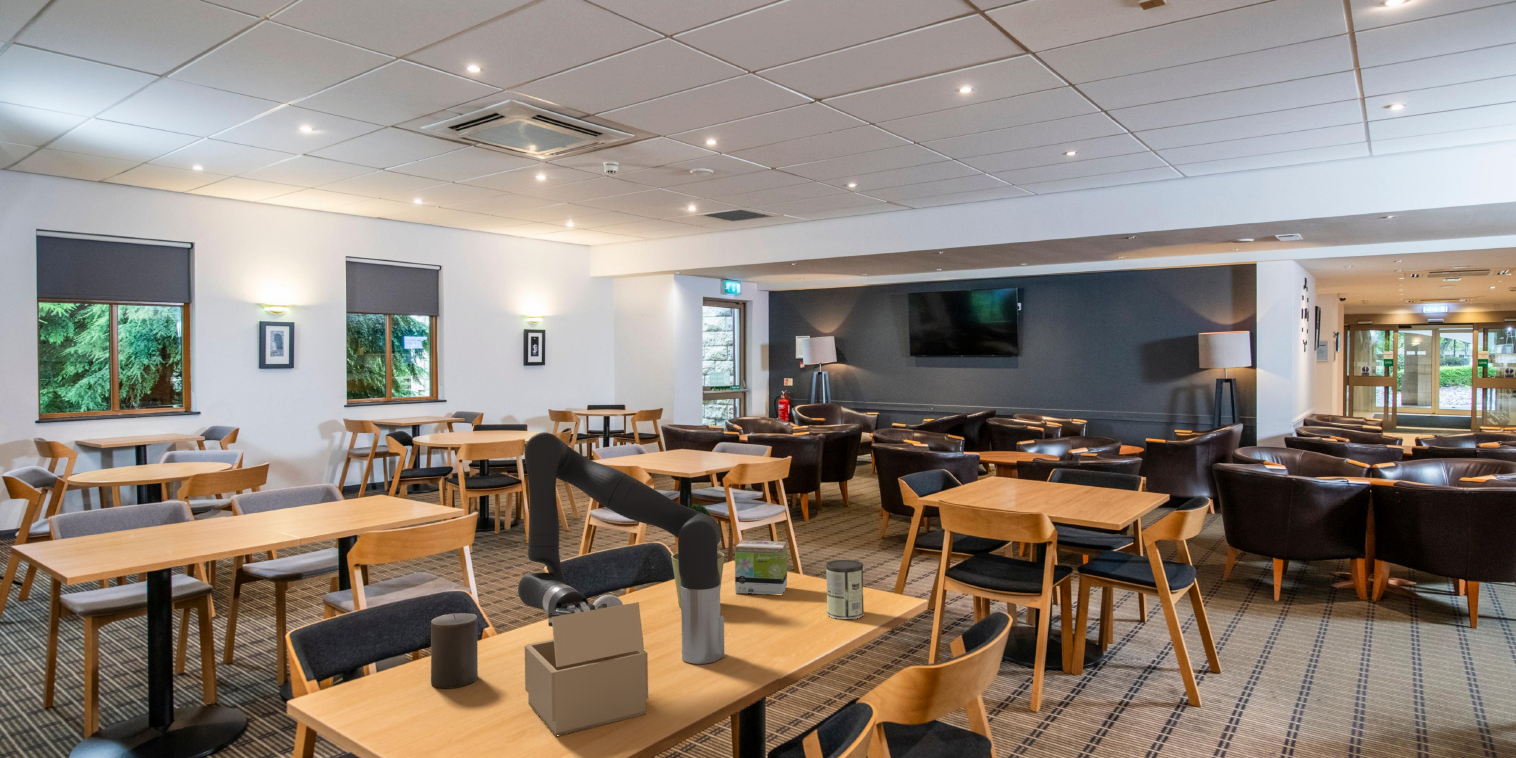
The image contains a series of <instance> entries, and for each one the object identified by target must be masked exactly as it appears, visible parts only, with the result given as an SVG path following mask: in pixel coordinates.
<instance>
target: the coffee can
mask: <svg viewBox="0 0 1516 758" xmlns="http://www.w3.org/2000/svg"><path fill="white" fill-rule="evenodd" d="M825 567H826V573H825V574H826V605H827V607H826V610H827V611H826V615H827V616H828V617H829V616H830V617H829V618H831V617H832V618H831V619H834V618H837V619H836V620H840V619H853V620H857V618H858V619H861V618H863V617H864V616H863V615H865V613H864V611H865V609H864V576H863V575H864V571H863V568H864V563H863V562H861V561H858V560H854V559H853V560H852V559H836V560H830V561H828V562H826V563H825ZM862 616H863V617H862ZM860 617H861V618H860Z"/></svg>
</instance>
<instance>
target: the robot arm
mask: <svg viewBox="0 0 1516 758" xmlns="http://www.w3.org/2000/svg"><path fill="white" fill-rule="evenodd" d="M524 457H525V465H526V471H527V481H528V493H529V494H528V495H529V503H528V504H529V506H528V507H529V512H528V514H529V516H528V517H529V519H528V540H527V541H528V543H527V545H528V546H527V555H528V556H527V557H528V559H529V561H530V562H533V563H540V564H543V565H545V567H546V568H547V572H529V573H526V574H525V575H524V576H522V578H521V579H520V581H519V582H518V587H517V592H518V593H517V594H518V596H519V599H520V600H521V602H522V604H524V605H526V606H527V607H531V608H534V609H537V610H543V612H545V613H546V614H547V616H548V625H547V626H548V627H552V628H553V626H552V617H555V616H561V615H567V614H573V613H579V612H584V611H590V610H596V609H602V608H607V604H601V605H600V606H598V607H595V605H593V603H590V602H589V601H588V599H587V597H586V596H585V595H584V594H583V593H581V592H580V591H579V590H577V589H575V588H574V587H572V586H570V585H567V583H566V579H565V575H564V572H563V567H562V564H561V563H562V562H561V557H560V517H559V511H558V505H557V504H558V503H557V502H558V500H557V479H559V480H560V481H562V482H565V483H567V484H570V485H571V486H574V487H576V488H577V489H579V490H580V491H581V492H583V493H584V494H586V495H587V496H588V497H590V498H591V499H592V500H594V501H595V502H596V503H598V504H600V505H602V506H603V507H605V508H606V509H608V510H610V511H612V512H614V513H615V514H617V515H619V516H622V517H624V518H626V519H628V520H632V521H634V522H637V523H642V524H645V525H649V526H653V527H656V528H658V529H661V530H663V531H666V532H668V533H669V534H671V535H673V536H674V537H675V538H676V539H677V553H678V562H679V574H680V578H681V609H680V610H681V612H680V613H681V614H680V615H681V616H680V617H681V619H680V620H681V659H682V660H683V661H684V662H686V663H687V664H688V663H689V664H694V665H702V664H703V665H704V664H705V665H706V664H710V663H715V662H717V661H719V660H720V659H722V658H725V657H726V656H725V617H724V616H723V615H721V589H720V574H719V571H718V557H717V551H718V545H719V544H720V541H721V539H722V530H721V529H722V528H721V526H720V524H719V523H718V522H717V521H716V520H715V518H713V516H711V515H710V516H711V517H710V516H708V515H706V514H703V513H701V512H698V511H695V510H693V509H690V508H691V507H688V506H686V505H684V504H680V503H679V502H676V501H674V499H671V498H669V497H668V496H666V495H665V494H663V493H661V492H659V491H658V490H656V489H654V488H653V487H652V486H649V485H647V484H646V483H644V482H643V481H640V480H639V479H637V478H635V477H633V476H631V475H629V474H627V473H626V472H623V471H621V470H618V469H616V468H613V467H611V466H608V465H605V464H601V463H600V462H595V461H594V460H591V459H589V458H588V457H586V456H584V455H582V454H581V453H579V452H578V451H576V450H574V449H573V448H572V447H570V446H569V445H567V444H566V443H565V442H564V441H563V440H562V439H561V438H559V437H558V436H556V435H555V434H553V433H550V432H548V431H547V432H546V431H545V432H538V433H536V434H534V435H532V436H531V437H530V438H529V439H528V440H527V442H526V444H525V448H524Z"/></svg>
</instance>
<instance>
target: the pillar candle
mask: <svg viewBox="0 0 1516 758" xmlns="http://www.w3.org/2000/svg"><path fill="white" fill-rule="evenodd" d="M430 623H431V625H430V635H431V636H430V652H431V653H430V683H431V686H433V687H435V688H437V689H458V688H461V687H465V686H469V685H471V684H473V683H475V682H476V681H477V680H478V676H479V674H478V665H479V664H478V616H477V615H476V614H474V613H469V612H468V613H467V612H466V613H465V612H464V613H463V612H460V613H454V612H452V613H448V614H443V615H439V616H436V617H434V618H433V619H432V620H431V622H430Z"/></svg>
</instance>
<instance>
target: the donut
mask: <svg viewBox="0 0 1516 758" xmlns="http://www.w3.org/2000/svg"><path fill="white" fill-rule="evenodd" d="M592 604H593V605H595V607H598V606H600V605H601V604H607V607H613V606H619V605H624V603H623V601H622V600H621V599H620V598H619V597H618V596H616V595H614V594H605V595H604V594H603V595H602V596H600V597H598V598H596V600H594V602H593V603H592Z"/></svg>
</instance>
